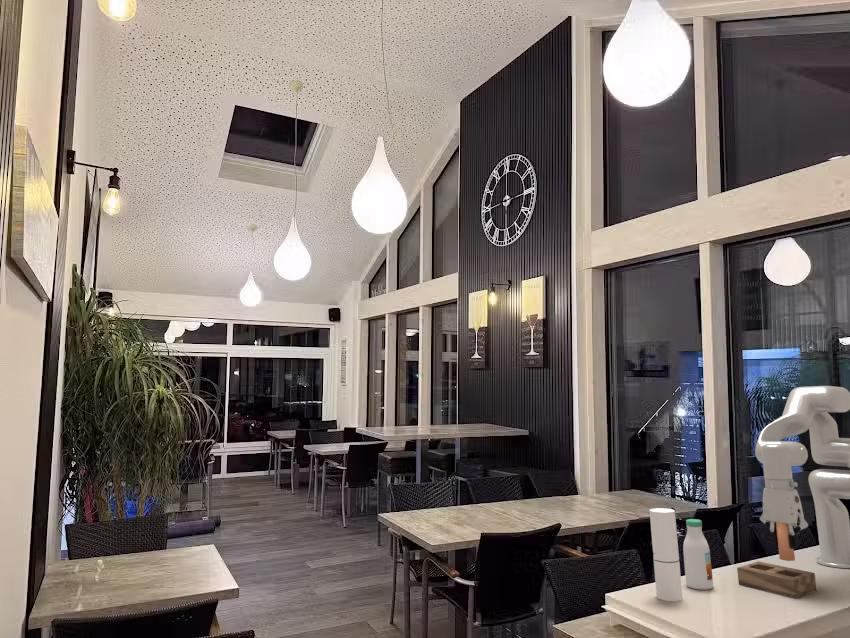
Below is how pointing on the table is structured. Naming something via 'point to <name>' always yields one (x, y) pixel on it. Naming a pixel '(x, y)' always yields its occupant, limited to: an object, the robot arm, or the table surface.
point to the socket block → (777, 579)
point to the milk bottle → (697, 557)
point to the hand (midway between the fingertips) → (785, 546)
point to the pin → (784, 542)
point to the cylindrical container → (665, 554)
